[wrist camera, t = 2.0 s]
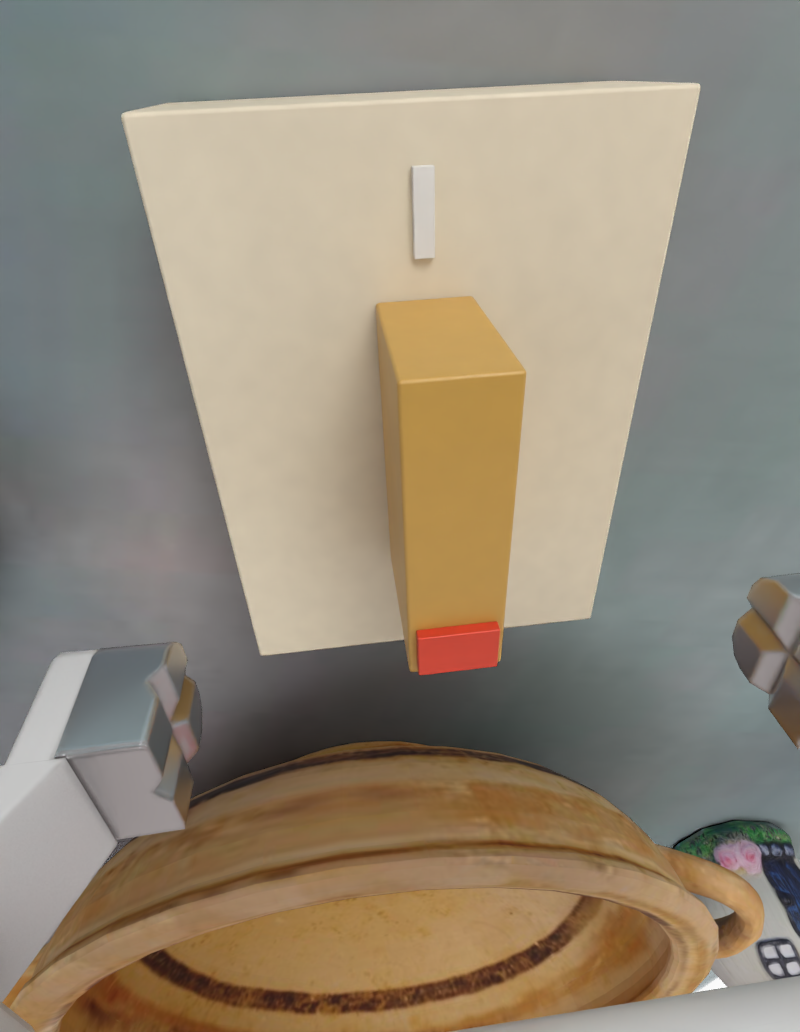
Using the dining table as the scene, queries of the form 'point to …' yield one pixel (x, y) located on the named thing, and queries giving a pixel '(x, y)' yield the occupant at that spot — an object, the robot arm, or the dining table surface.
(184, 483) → the dining table surface
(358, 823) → the ceramic bowl
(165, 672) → the robot arm
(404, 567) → the lock knob
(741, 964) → the decorative ornament
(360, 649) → the dining table surface
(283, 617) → the plate
